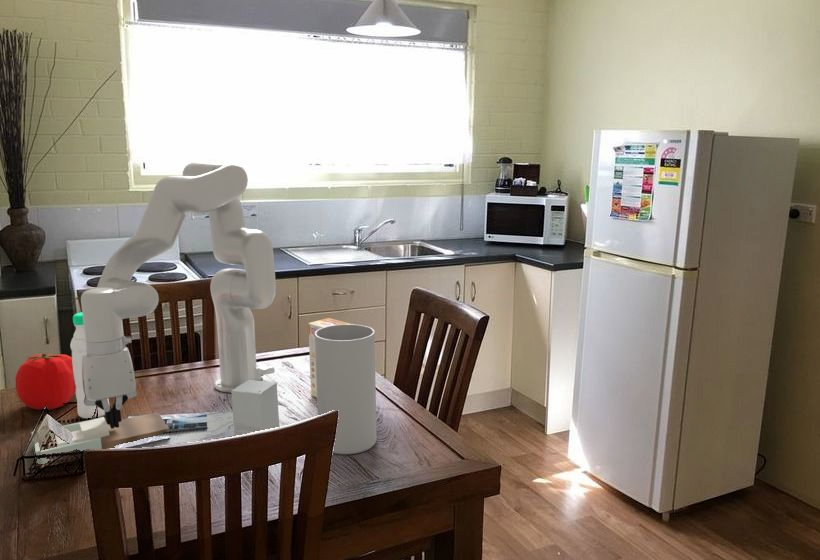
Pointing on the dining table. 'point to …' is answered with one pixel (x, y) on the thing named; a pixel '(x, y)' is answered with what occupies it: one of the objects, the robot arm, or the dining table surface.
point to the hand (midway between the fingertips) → (114, 425)
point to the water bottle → (77, 354)
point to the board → (134, 430)
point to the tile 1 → (76, 438)
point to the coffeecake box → (312, 329)
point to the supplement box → (255, 406)
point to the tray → (70, 447)
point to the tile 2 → (94, 429)
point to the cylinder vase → (348, 383)
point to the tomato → (45, 381)
